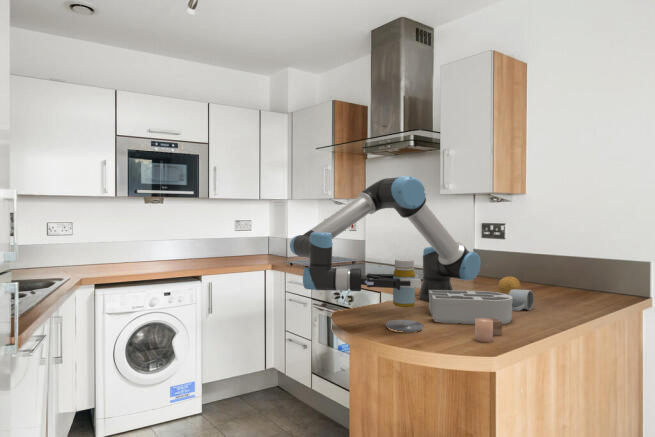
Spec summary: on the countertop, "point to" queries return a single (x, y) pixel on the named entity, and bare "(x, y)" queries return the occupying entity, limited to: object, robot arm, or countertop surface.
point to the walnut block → (496, 326)
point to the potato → (508, 284)
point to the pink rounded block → (484, 329)
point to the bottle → (405, 294)
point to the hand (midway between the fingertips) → (419, 281)
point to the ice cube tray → (469, 306)
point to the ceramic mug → (522, 299)
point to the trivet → (404, 325)
